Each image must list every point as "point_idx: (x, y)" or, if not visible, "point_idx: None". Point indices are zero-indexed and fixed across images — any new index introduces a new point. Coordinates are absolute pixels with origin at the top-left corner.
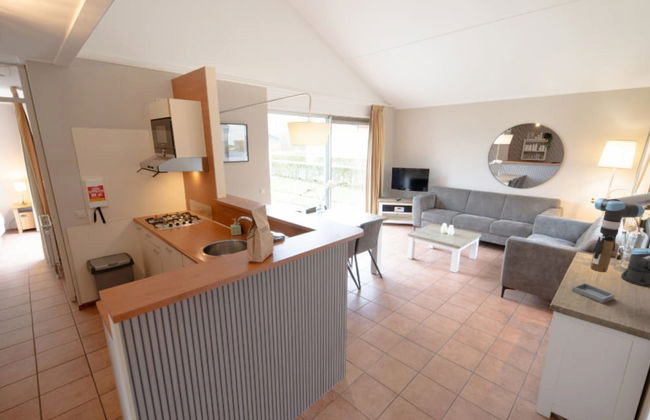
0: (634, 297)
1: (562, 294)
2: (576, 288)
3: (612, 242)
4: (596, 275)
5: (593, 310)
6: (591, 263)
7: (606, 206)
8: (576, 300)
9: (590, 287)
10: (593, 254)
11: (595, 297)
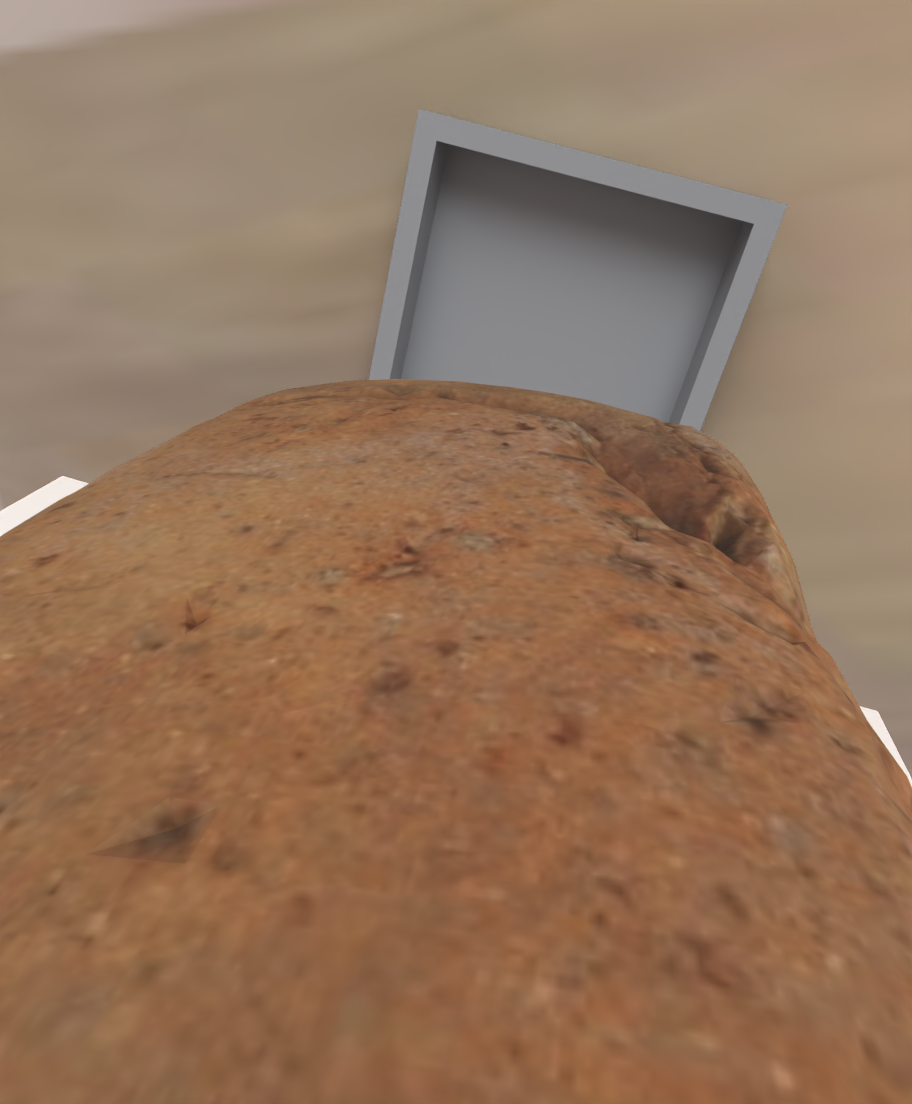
0: (896, 733)
1: (176, 50)
2: (409, 172)
3: None
4: None
5: (96, 454)
6: (180, 435)
7: None
8: (169, 256)
9: (714, 313)
10: None
11: None
